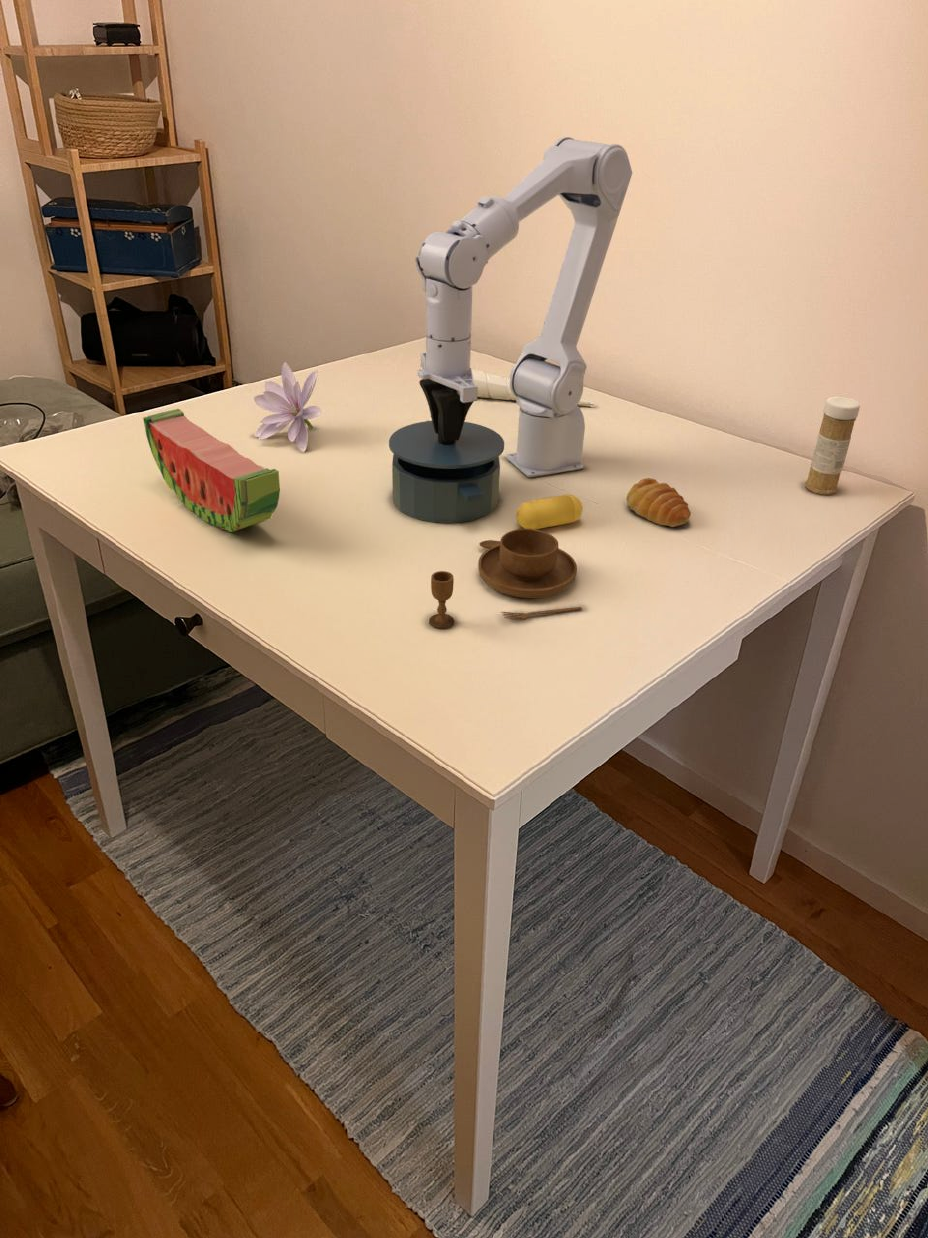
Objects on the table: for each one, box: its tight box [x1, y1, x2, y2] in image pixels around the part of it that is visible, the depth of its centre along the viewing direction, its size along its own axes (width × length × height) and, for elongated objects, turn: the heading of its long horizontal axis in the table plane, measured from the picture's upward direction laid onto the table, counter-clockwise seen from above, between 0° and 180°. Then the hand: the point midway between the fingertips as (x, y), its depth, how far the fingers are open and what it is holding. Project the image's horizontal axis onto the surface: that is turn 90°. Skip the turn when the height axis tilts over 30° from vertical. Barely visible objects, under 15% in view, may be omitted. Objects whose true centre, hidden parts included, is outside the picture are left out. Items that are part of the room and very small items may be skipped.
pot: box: [391, 453, 501, 524], centre depth 129 cm, size 15×20×6 cm
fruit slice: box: [142, 408, 281, 533], centre depth 123 cm, size 26×6×10 cm, turn 41°
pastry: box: [625, 477, 692, 528], centre depth 127 cm, size 9×7×4 cm
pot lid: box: [388, 413, 505, 469], centre depth 125 cm, size 16×16×5 cm
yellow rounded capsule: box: [516, 494, 584, 530], centre depth 124 cm, size 9×4×4 cm, turn 114°
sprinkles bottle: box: [805, 395, 861, 495], centre depth 133 cm, size 5×5×13 cm
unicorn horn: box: [471, 368, 595, 407], centre depth 162 cm, size 5×24×5 cm, turn 75°
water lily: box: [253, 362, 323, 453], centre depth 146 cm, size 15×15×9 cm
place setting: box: [428, 528, 583, 630], centre depth 110 cm, size 18×20×6 cm
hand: (446, 436), depth 125 cm, fingers closed on pot lid, 2 cm apart
